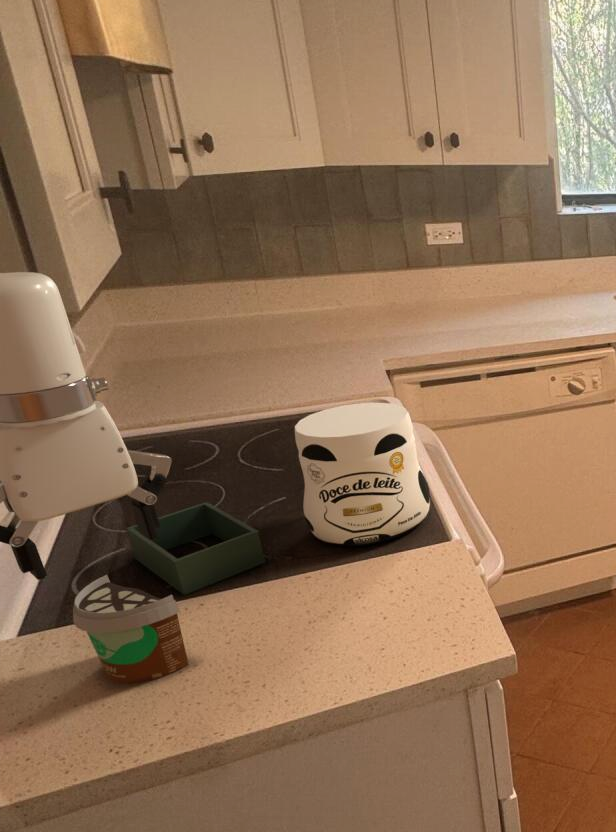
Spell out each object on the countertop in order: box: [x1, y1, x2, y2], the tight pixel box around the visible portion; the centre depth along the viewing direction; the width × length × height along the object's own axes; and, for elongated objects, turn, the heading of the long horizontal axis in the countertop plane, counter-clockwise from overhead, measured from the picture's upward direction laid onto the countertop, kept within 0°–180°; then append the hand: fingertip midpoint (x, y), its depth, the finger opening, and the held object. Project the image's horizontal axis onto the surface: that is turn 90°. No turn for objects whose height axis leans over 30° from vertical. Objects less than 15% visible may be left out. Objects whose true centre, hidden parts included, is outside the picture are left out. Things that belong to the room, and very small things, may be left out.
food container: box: [72, 574, 190, 685], centre depth 86 cm, size 12×6×10 cm, turn 68°
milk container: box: [294, 402, 431, 547], centre depth 117 cm, size 17×17×18 cm
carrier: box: [125, 501, 266, 596], centre depth 110 cm, size 16×10×6 cm, turn 55°
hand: (96, 554), depth 82 cm, fingers open, 9 cm apart
